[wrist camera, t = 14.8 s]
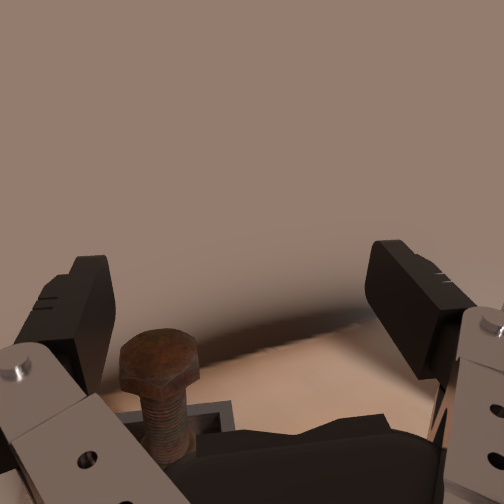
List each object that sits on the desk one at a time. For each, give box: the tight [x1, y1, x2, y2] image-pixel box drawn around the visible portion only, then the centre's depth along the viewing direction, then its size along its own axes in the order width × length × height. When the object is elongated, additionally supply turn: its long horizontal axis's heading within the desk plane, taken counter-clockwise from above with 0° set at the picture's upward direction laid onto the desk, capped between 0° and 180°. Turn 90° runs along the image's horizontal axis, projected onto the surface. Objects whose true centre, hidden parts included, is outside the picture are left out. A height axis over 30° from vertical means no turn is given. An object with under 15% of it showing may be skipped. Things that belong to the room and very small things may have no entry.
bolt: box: [119, 328, 200, 470], centre depth 30 cm, size 6×5×15 cm
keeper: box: [115, 400, 235, 444], centre depth 33 cm, size 11×11×3 cm
